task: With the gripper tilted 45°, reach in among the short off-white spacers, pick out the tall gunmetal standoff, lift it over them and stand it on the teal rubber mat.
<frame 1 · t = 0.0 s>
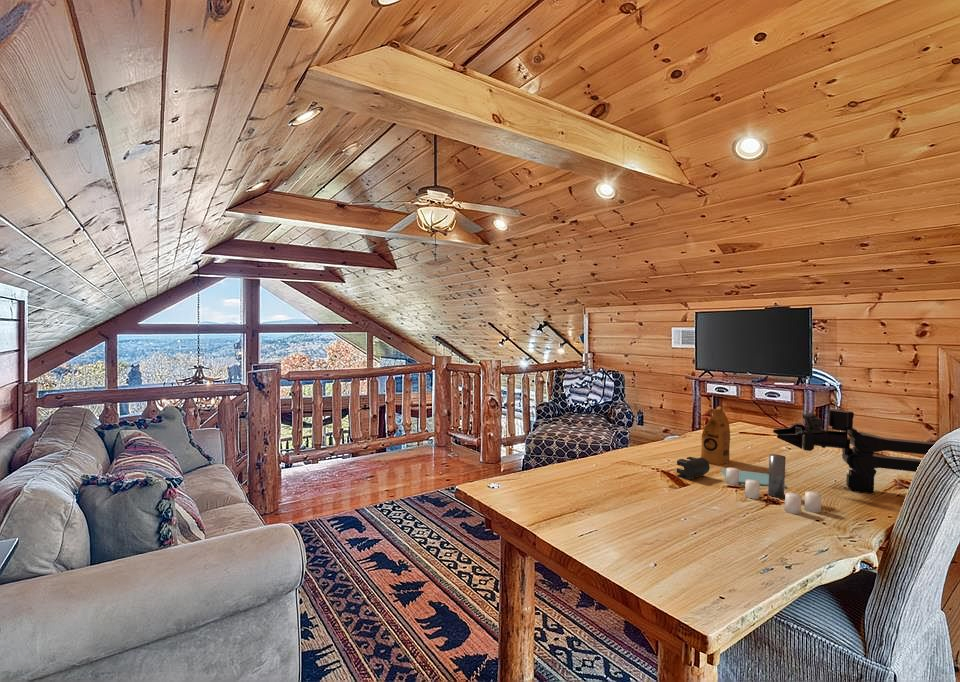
hand: (775, 433, 169), 17 cm above the table, tool horizontal, fingers open, 9 cm apart
standoff: (775, 495, 153), on the table
end cap: (692, 477, 170), on the table
coffee package: (714, 461, 191), on the table
mat: (751, 478, 169), on the table
spacers: (776, 495, 153), on the table
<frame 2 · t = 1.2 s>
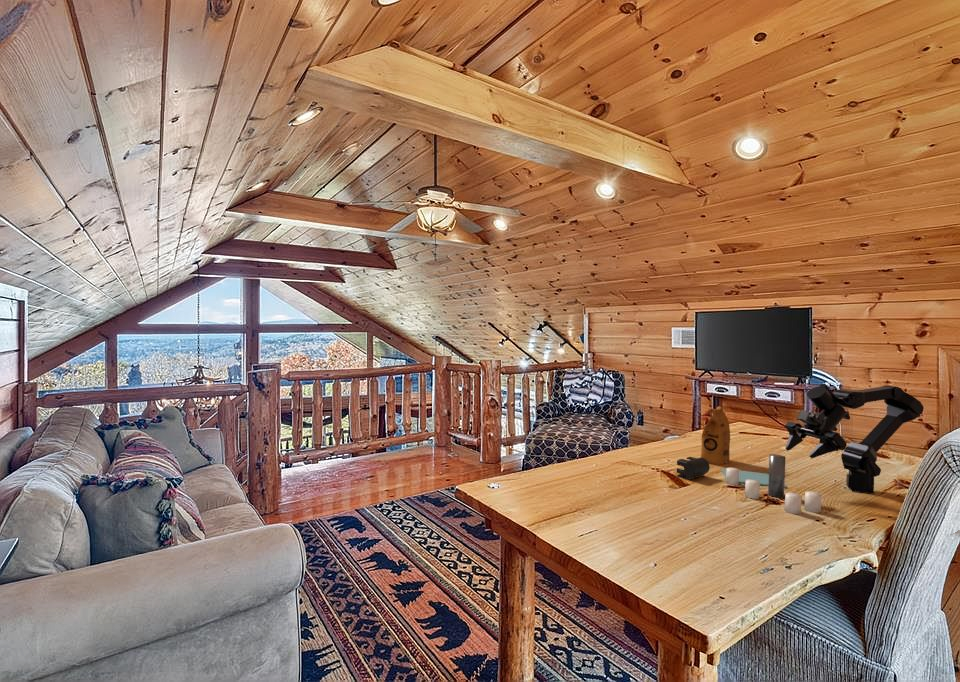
hand: (798, 453, 154), 14 cm above the table, tool tilted 45°, fingers open, 9 cm apart
nothing on the table moved.
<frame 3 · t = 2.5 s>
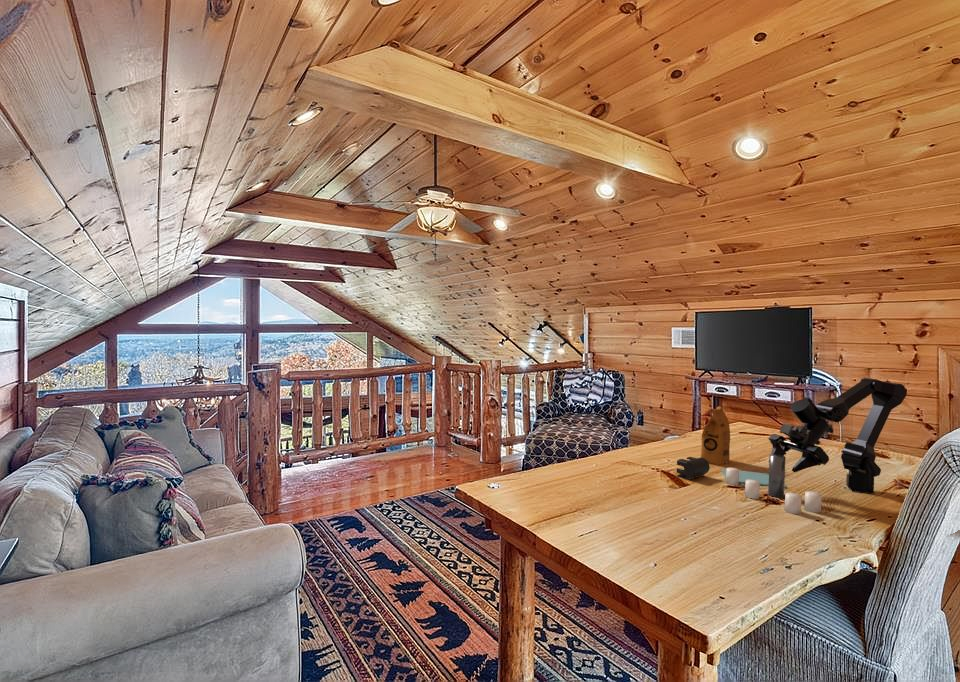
hand: (781, 466, 152), 9 cm above the table, tool tilted 45°, fingers open, 9 cm apart
nothing on the table moved.
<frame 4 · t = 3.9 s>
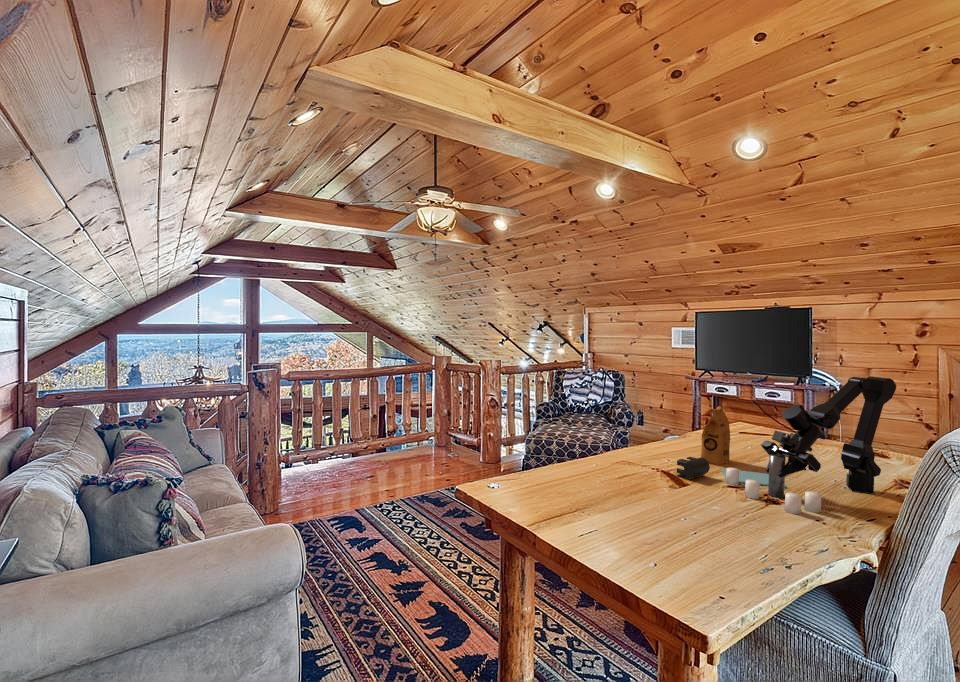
hand: (773, 474, 152), 7 cm above the table, tool tilted 45°, fingers closed on standoff, 4 cm apart
standoff: (775, 495, 153), on the table, touching gripper
everything else where it was.
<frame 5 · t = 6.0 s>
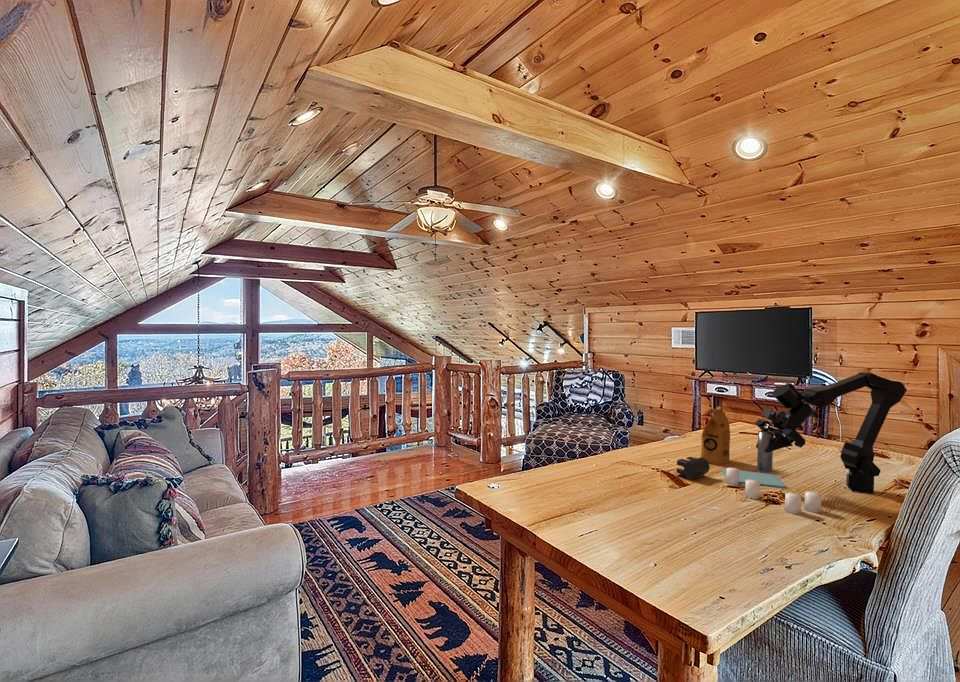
hand: (761, 449, 158), 13 cm above the table, tool tilted 45°, fingers closed on standoff, 4 cm apart
standoff: (764, 470, 158), point 6 cm above the table, touching gripper
everything else where it was.
when the fingers open (9 cm above the table, at t = 8.2 s): standoff drops 1 cm, resting on mat.
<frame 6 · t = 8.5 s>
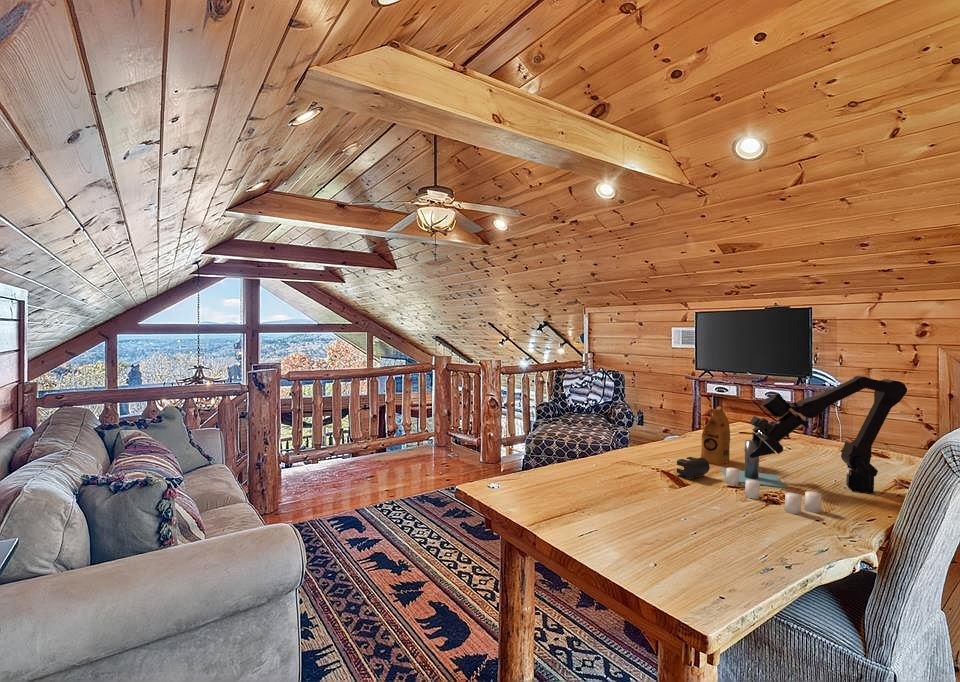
hand: (747, 454, 169), 9 cm above the table, tool tilted 45°, fingers open, 7 cm apart
standoff: (751, 477, 169), point 1 cm above the table, touching mat
everything else where it was.
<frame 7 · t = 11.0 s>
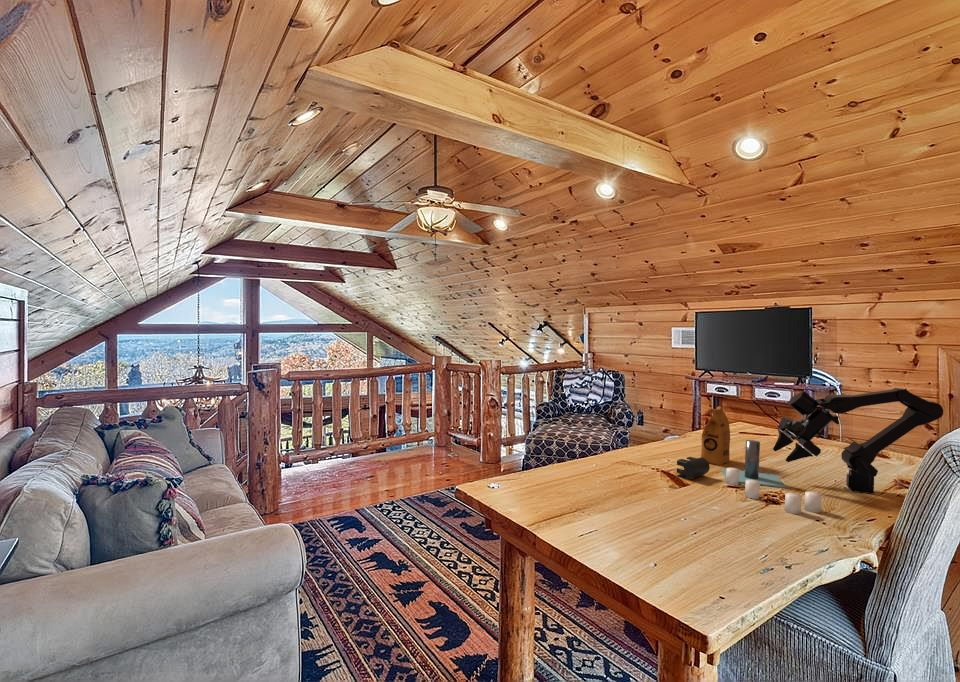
hand: (780, 455, 166), 9 cm above the table, tool tilted 40°, fingers open, 9 cm apart
nothing on the table moved.
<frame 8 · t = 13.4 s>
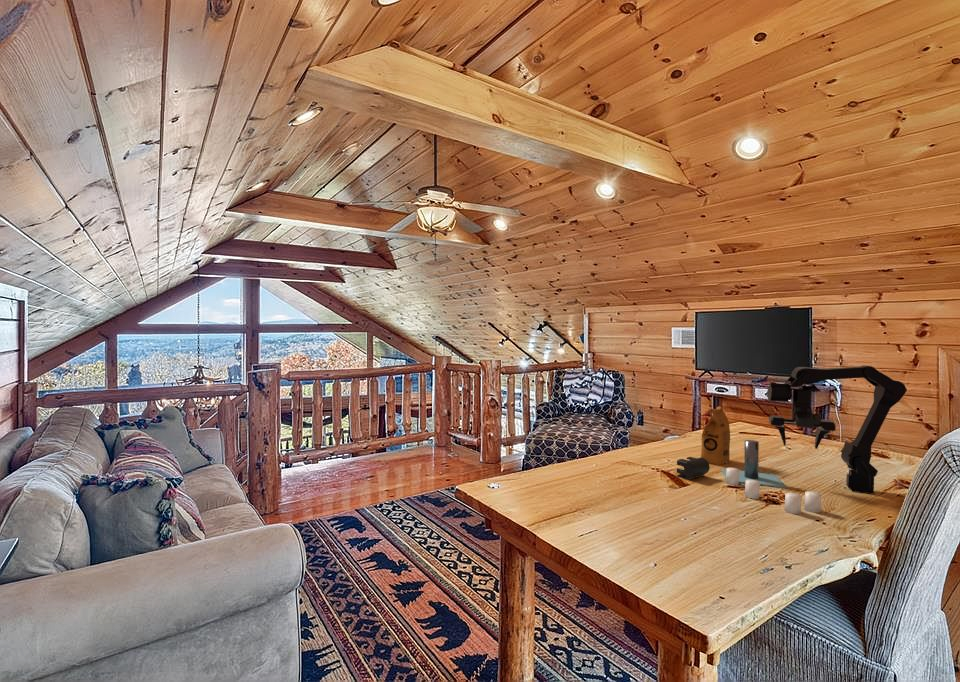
hand: (800, 447, 164), 13 cm above the table, tool pointing down, fingers open, 9 cm apart
nothing on the table moved.
at the end: standoff inside the target area on the mat (0.2 cm from its centre), point 0.7 cm above the mat's base; standoff tilted 2°; the gripper is holding nothing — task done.
